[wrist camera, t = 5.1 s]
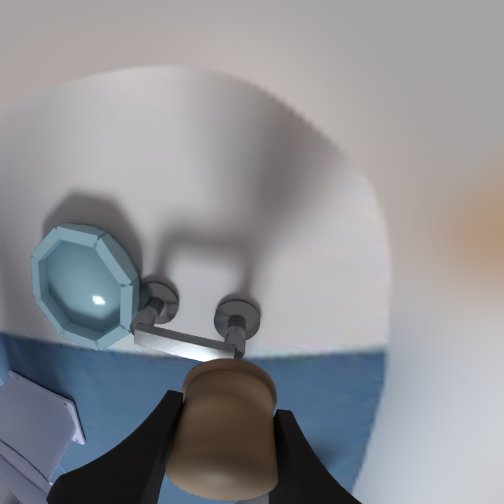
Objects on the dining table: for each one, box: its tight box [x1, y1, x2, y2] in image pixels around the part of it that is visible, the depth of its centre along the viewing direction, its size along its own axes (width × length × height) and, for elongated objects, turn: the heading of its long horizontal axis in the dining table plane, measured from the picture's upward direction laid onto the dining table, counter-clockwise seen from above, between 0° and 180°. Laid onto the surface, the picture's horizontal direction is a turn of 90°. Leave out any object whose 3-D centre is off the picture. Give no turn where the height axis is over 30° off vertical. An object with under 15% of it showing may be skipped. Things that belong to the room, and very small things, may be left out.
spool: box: [165, 358, 278, 501], centre depth 10 cm, size 4×4×5 cm
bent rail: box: [130, 281, 260, 362], centre depth 18 cm, size 8×10×4 cm
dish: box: [31, 223, 140, 351], centre depth 18 cm, size 9×9×2 cm
